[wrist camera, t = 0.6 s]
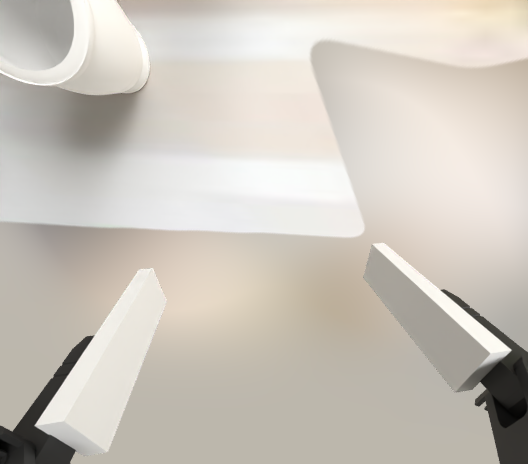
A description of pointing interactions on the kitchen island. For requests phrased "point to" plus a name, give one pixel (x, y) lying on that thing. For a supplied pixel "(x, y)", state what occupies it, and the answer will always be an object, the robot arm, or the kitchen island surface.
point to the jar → (72, 46)
